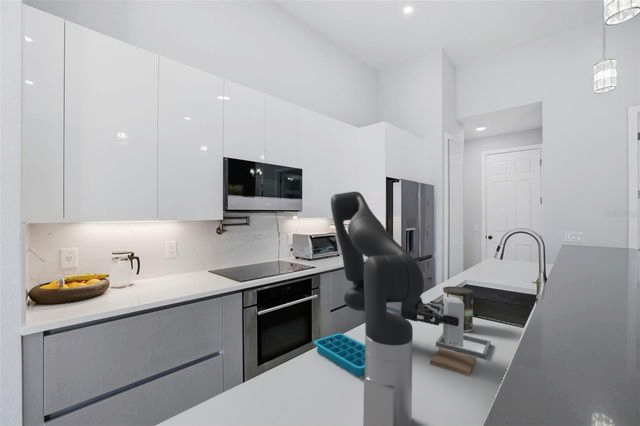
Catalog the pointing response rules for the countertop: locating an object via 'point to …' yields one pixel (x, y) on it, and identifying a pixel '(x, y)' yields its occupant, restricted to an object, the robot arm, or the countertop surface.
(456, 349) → the grey flat rectangular frame
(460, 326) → the skincare box
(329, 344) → the ice cube tray
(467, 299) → the coffee can
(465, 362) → the walnut board
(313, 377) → the countertop surface
